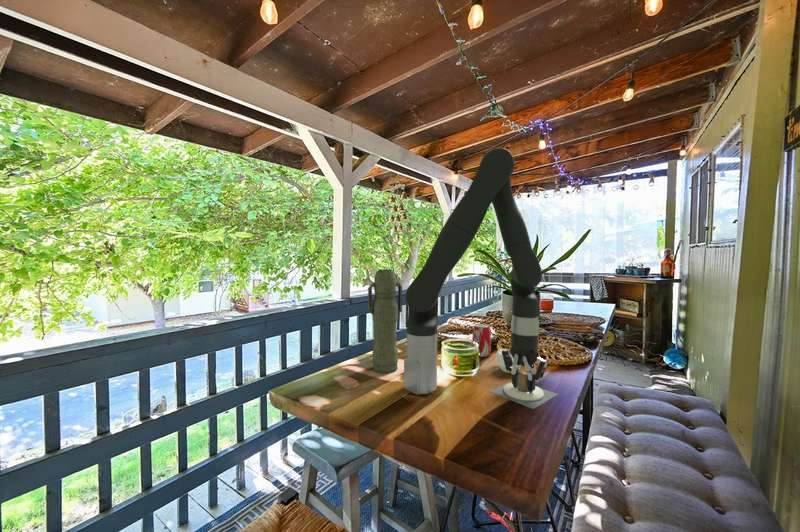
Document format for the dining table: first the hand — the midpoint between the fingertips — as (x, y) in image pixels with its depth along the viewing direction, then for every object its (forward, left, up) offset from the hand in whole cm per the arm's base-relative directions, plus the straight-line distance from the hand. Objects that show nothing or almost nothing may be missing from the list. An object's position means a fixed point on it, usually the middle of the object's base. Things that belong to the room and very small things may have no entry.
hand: (523, 388), depth 98 cm
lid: (0, 0, -1) cm, 1 cm away
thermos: (-19, +42, -2) cm, 46 cm away
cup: (+13, +14, -2) cm, 19 cm away
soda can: (+20, +30, -2) cm, 36 cm away
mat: (0, 0, -2) cm, 2 cm away
